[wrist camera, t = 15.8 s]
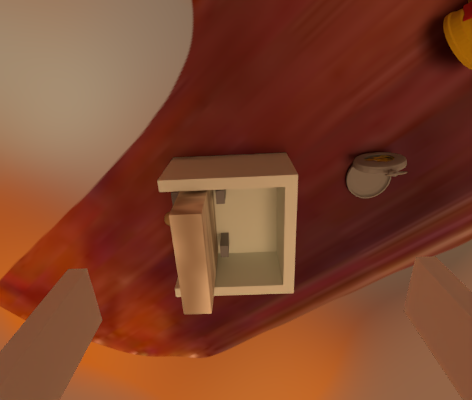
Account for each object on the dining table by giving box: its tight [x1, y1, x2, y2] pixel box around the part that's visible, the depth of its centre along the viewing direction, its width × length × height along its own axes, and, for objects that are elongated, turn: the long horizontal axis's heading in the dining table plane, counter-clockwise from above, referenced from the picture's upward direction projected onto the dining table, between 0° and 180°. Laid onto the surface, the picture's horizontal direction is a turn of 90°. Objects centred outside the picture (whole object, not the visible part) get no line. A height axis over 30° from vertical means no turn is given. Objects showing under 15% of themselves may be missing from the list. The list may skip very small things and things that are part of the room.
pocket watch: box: [346, 152, 407, 198], centre depth 42 cm, size 8×8×10 cm
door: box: [164, 190, 218, 314], centre depth 42 cm, size 5×14×14 cm, turn 3°
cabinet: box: [157, 153, 298, 297], centre depth 45 cm, size 17×18×10 cm
